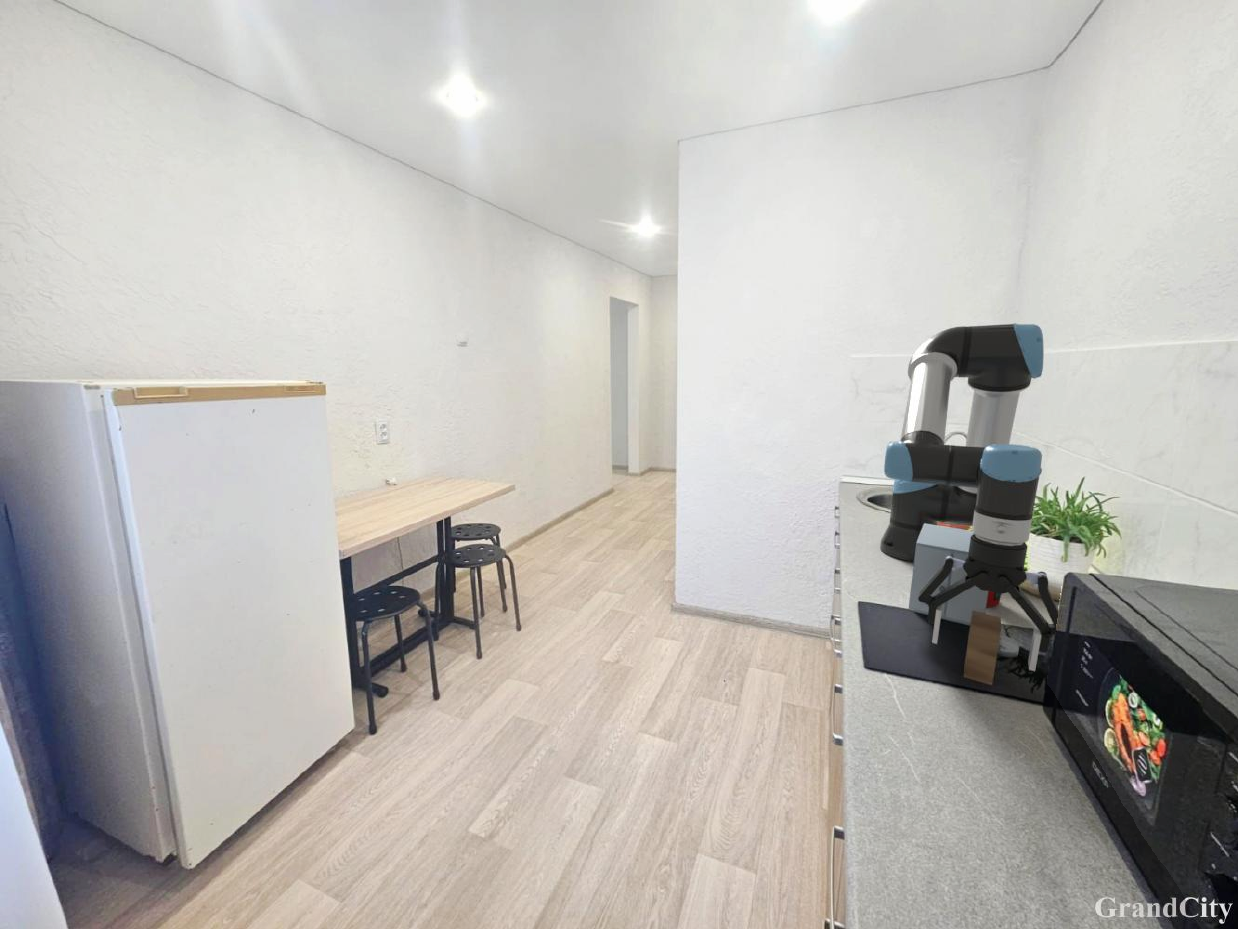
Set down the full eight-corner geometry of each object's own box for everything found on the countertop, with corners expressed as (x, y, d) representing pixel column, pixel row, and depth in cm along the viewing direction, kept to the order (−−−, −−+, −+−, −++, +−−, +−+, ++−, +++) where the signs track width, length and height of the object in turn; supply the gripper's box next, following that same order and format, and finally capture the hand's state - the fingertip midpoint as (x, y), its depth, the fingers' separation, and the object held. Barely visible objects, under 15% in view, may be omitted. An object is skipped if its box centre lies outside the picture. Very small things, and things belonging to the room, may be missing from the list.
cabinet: (913, 607, 109) (924, 523, 105) (979, 624, 102) (993, 534, 98) (904, 638, 97) (915, 544, 93) (978, 659, 90) (993, 558, 86)
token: (984, 640, 97) (985, 631, 96) (1016, 648, 94) (1018, 639, 94) (985, 652, 93) (986, 643, 92) (1018, 661, 90) (1020, 651, 90)
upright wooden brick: (966, 633, 99) (973, 583, 97) (990, 639, 97) (998, 588, 94) (963, 677, 86) (971, 620, 83) (992, 685, 83) (1001, 627, 81)
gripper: (909, 530, 85) (896, 639, 89) (1107, 563, 70) (1080, 691, 75) (914, 518, 91) (902, 621, 95) (1098, 547, 76) (1074, 667, 81)
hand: (981, 652), depth 85 cm, fingers open, 13 cm apart
